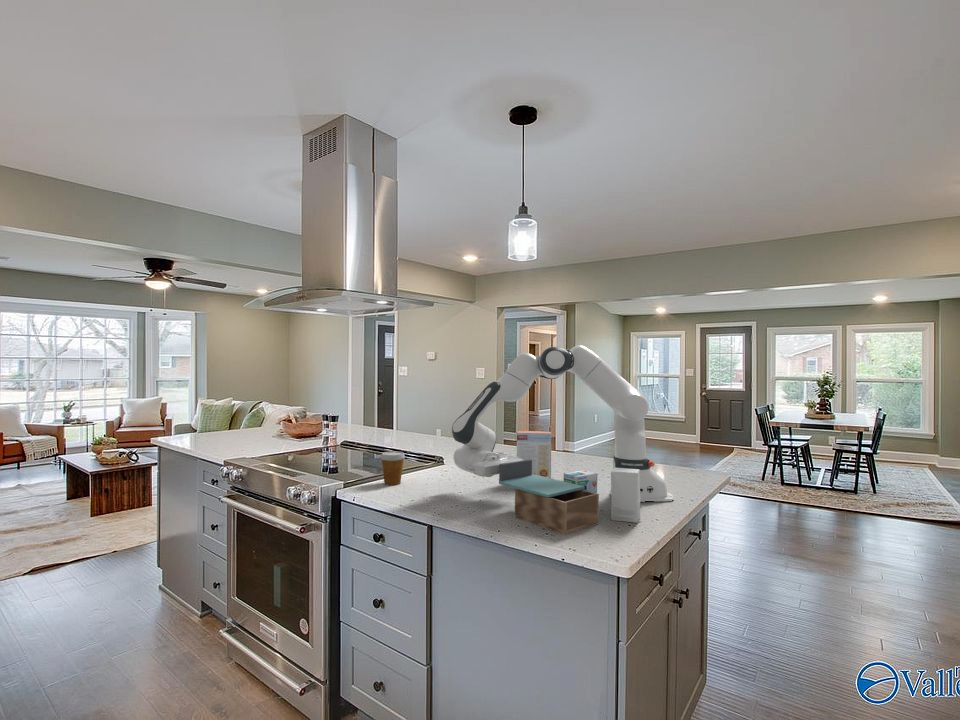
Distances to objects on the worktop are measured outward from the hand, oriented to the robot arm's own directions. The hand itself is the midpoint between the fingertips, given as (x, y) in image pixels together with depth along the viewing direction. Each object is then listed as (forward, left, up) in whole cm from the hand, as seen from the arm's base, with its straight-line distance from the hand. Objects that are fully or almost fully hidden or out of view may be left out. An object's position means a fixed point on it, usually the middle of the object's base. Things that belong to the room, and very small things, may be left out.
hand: (514, 470), depth 170 cm
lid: (-8, +8, -3) cm, 12 cm away
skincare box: (-35, +9, -13) cm, 38 cm away
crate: (-13, +13, -12) cm, 22 cm away
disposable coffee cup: (+48, -27, -13) cm, 56 cm away
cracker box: (-8, -36, -13) cm, 39 cm away
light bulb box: (-23, -7, -13) cm, 27 cm away
